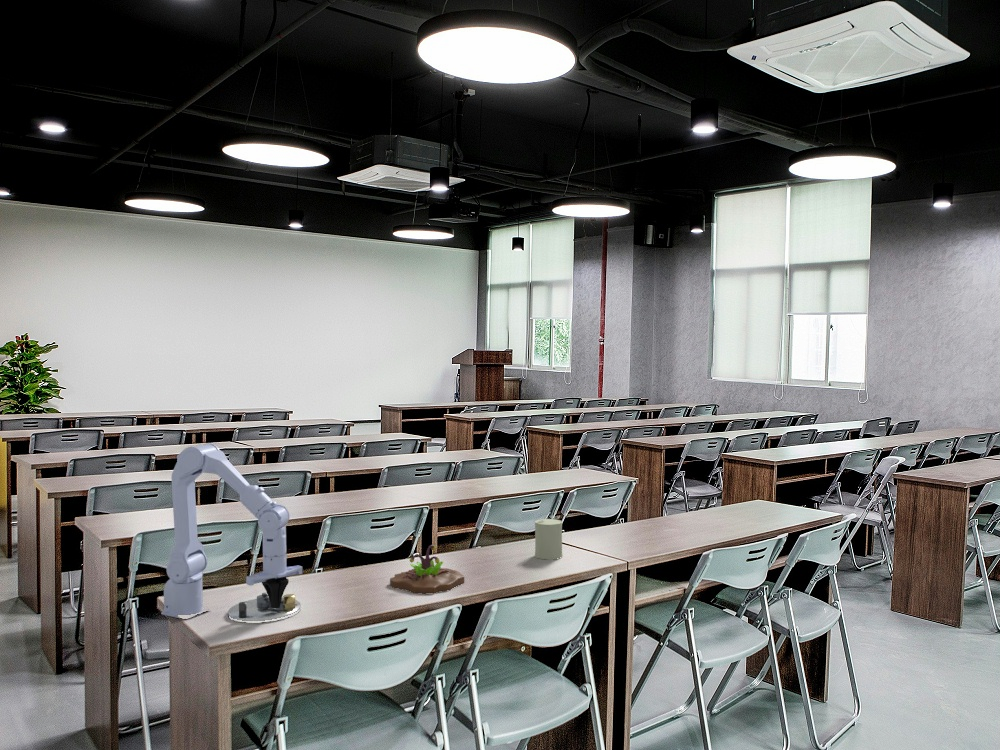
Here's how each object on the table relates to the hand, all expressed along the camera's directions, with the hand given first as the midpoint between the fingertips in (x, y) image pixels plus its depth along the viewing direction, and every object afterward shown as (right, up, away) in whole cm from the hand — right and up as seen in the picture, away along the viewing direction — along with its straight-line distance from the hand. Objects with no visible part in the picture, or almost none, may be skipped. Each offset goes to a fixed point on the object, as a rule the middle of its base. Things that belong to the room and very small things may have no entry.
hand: (275, 607), depth 193 cm
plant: (+36, -2, +29) cm, 47 cm away
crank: (-1, -1, +3) cm, 4 cm away
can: (+73, -1, +58) cm, 94 cm away
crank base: (-4, -2, +4) cm, 6 cm away
